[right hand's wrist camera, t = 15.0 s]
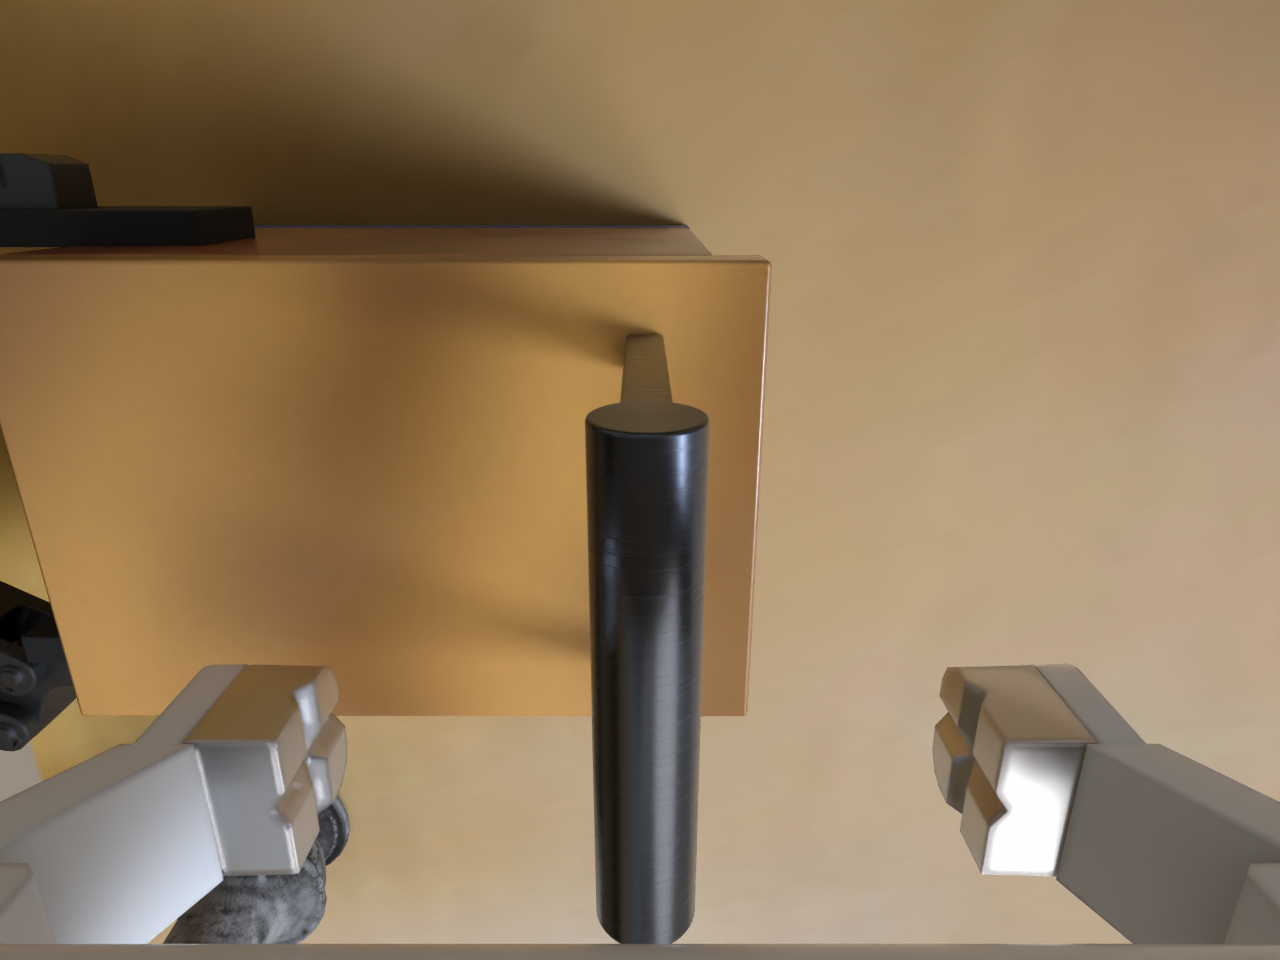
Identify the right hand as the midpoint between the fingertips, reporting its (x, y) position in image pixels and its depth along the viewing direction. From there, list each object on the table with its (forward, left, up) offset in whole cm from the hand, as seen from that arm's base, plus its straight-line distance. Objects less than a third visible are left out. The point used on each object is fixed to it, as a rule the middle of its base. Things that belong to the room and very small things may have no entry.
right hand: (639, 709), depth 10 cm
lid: (+4, +3, -8) cm, 9 cm away
